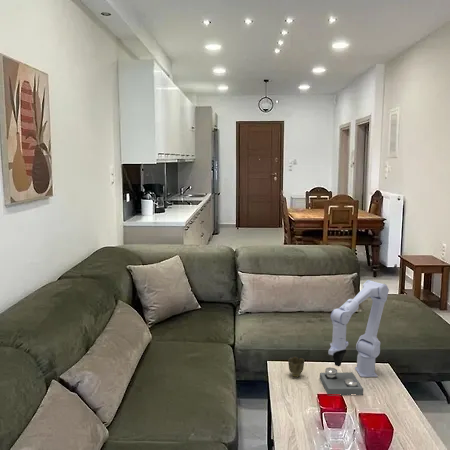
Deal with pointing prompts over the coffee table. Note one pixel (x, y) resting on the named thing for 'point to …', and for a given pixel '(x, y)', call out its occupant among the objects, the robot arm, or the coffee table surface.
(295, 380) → the coffee table surface
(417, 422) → the coffee table surface
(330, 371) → the knob
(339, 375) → the knob board
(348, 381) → the knob
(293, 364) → the cup
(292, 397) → the coffee table surface
